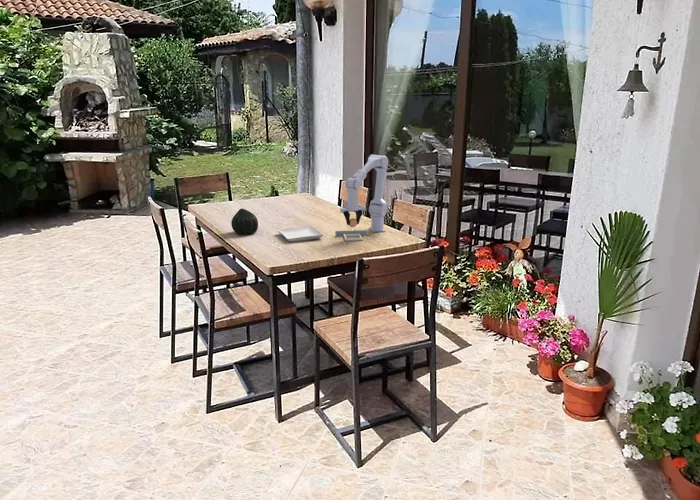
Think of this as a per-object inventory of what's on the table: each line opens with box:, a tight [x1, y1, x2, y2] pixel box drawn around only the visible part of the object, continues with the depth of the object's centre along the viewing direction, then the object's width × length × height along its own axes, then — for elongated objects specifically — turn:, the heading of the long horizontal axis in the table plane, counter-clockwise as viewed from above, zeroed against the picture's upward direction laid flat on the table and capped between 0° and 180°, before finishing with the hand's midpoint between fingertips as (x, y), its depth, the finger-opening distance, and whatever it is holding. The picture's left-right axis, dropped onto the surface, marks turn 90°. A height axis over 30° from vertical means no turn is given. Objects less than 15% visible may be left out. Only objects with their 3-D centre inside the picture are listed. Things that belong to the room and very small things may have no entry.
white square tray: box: [342, 234, 364, 242], centre depth 299 cm, size 10×10×2 cm
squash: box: [230, 208, 259, 236], centre depth 307 cm, size 14×15×15 cm
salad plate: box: [276, 225, 324, 242], centre depth 302 cm, size 21×21×3 cm
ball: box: [348, 217, 358, 228], centre depth 296 cm, size 5×5×5 cm
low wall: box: [335, 229, 368, 237], centre depth 304 cm, size 1×18×3 cm, turn 97°
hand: (352, 224), depth 297 cm, fingers closed on ball, 5 cm apart
